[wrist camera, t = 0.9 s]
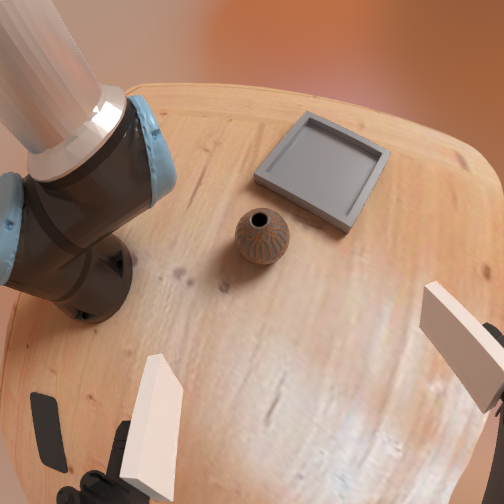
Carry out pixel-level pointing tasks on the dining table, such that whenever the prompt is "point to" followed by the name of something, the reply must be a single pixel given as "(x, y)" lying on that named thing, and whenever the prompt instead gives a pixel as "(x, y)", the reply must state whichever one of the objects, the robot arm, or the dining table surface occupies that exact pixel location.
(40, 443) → the phone
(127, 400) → the dining table surface
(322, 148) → the tray
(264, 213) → the vase
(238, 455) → the dining table surface
